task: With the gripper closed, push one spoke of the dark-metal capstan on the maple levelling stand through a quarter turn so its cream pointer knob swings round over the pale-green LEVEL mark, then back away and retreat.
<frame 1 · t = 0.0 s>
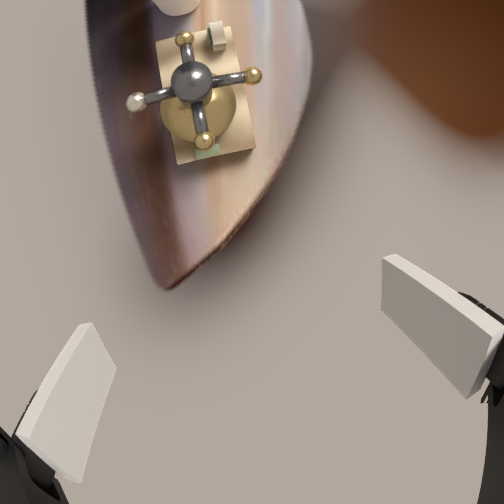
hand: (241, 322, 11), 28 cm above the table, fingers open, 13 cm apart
cup: (179, 3, 27), on the table
capstan: (193, 89, 26), point 7 cm above the table, hinge at 0.0°
stand: (204, 93, 32), on the table
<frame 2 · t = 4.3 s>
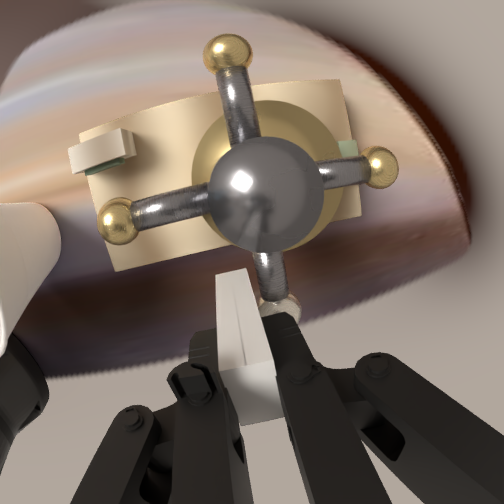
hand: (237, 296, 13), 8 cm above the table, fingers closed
cup: (37, 236, 19), on the table
capstan: (251, 186, 13), point 7 cm above the table, hinge at 0.0°, touching gripper
stand: (222, 167, 19), on the table
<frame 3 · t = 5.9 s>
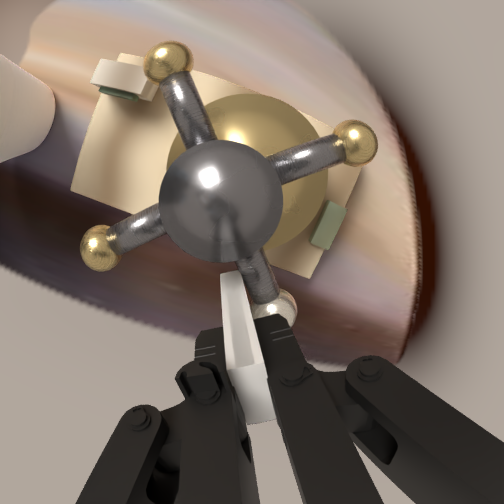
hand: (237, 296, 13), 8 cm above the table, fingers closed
cup: (33, 117, 16), on the table
capstan: (222, 189, 13), point 7 cm above the table, hinge at 44.4°, touching gripper
stand: (216, 159, 19), on the table
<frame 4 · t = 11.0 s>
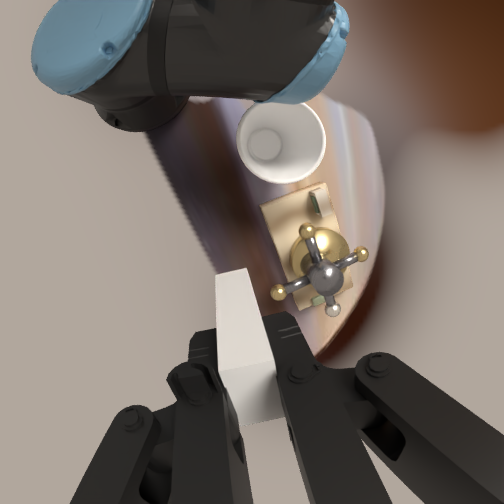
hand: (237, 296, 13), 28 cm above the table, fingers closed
cup: (264, 145, 38), on the table
capstan: (318, 270, 38), point 7 cm above the table, hinge at 91.7°
stand: (307, 246, 44), on the table
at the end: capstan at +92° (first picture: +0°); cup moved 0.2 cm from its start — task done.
